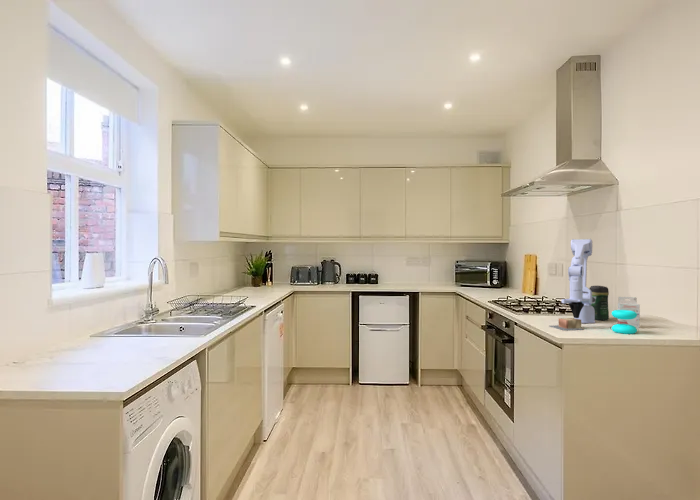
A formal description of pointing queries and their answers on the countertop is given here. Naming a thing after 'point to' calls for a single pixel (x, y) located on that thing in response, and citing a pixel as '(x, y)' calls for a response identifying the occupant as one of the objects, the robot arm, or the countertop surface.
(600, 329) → the countertop surface
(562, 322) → the oak block
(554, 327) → the rubber mat
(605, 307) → the coffee jar
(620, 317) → the donuts
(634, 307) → the ink cartridge box
